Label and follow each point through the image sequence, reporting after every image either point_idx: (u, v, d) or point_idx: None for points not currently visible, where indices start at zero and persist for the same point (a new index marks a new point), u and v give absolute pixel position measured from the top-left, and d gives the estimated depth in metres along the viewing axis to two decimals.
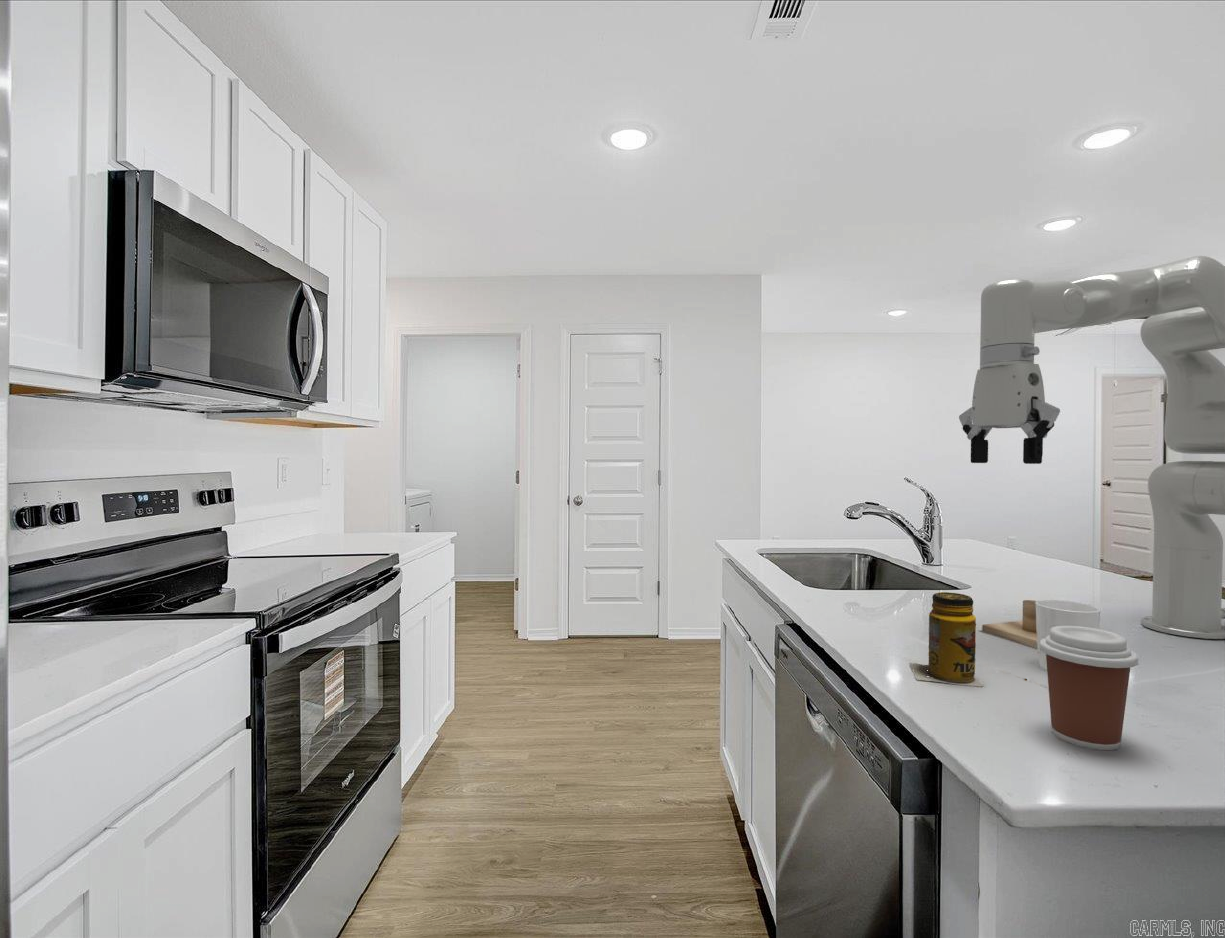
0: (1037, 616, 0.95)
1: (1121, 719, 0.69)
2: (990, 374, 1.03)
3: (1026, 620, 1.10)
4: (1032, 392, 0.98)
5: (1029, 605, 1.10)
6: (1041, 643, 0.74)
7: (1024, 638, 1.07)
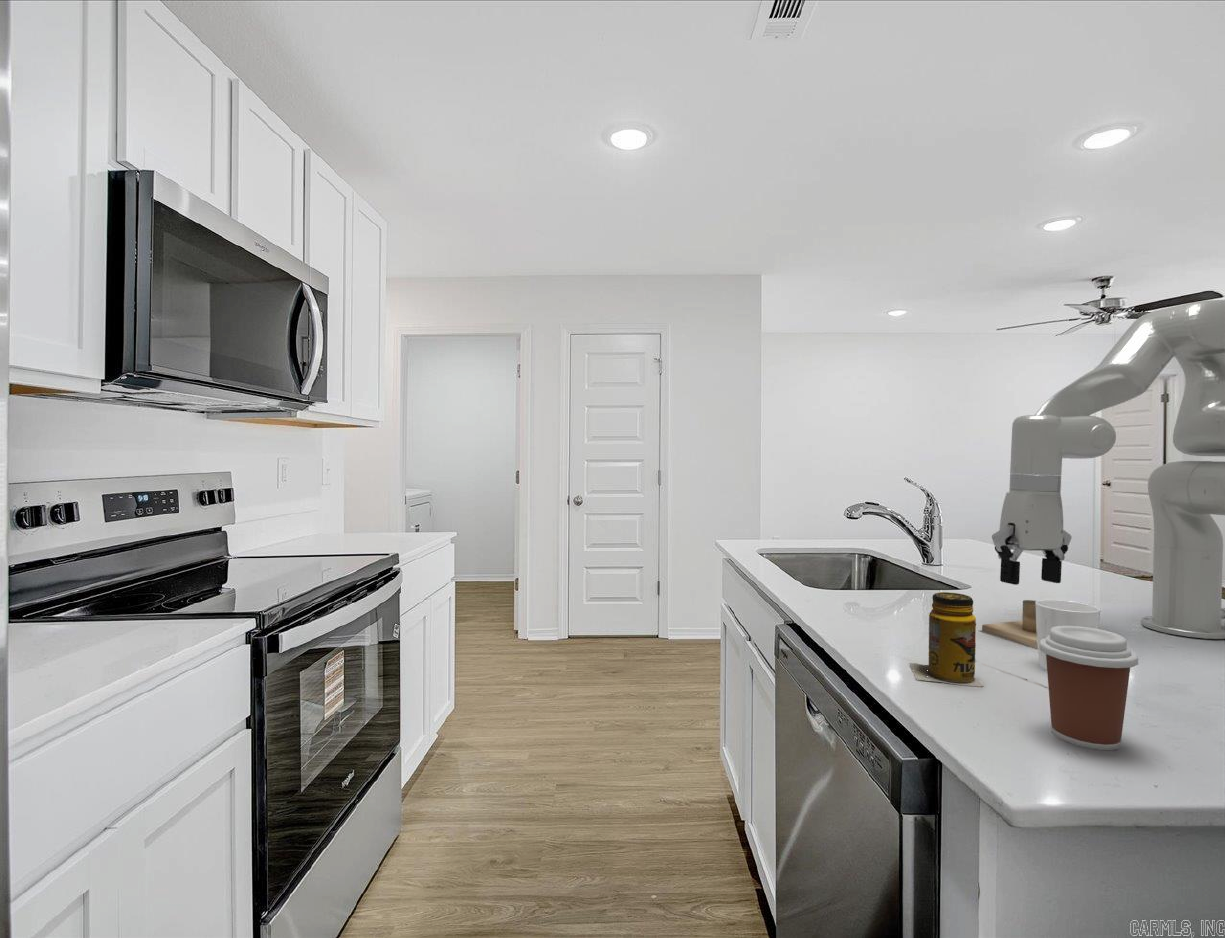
0: (1037, 616, 0.95)
1: (1121, 719, 0.69)
2: (1044, 500, 1.08)
3: (1026, 620, 1.10)
4: None
5: (1029, 605, 1.10)
6: (1041, 643, 0.74)
7: (1024, 638, 1.07)
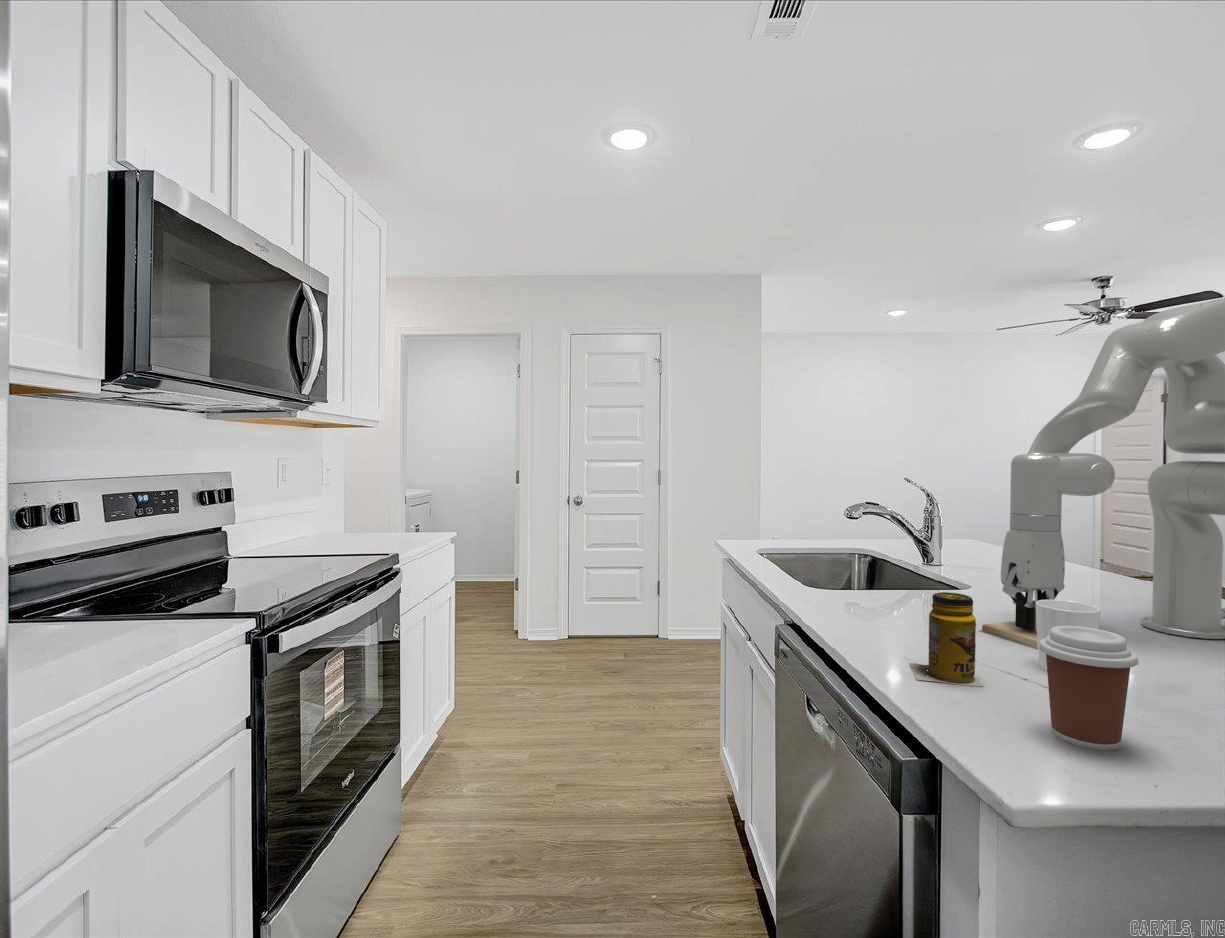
0: (1037, 616, 0.95)
1: (1121, 719, 0.69)
2: (1045, 540, 1.08)
3: None
4: None
5: None
6: (1041, 643, 0.74)
7: (1024, 638, 1.07)
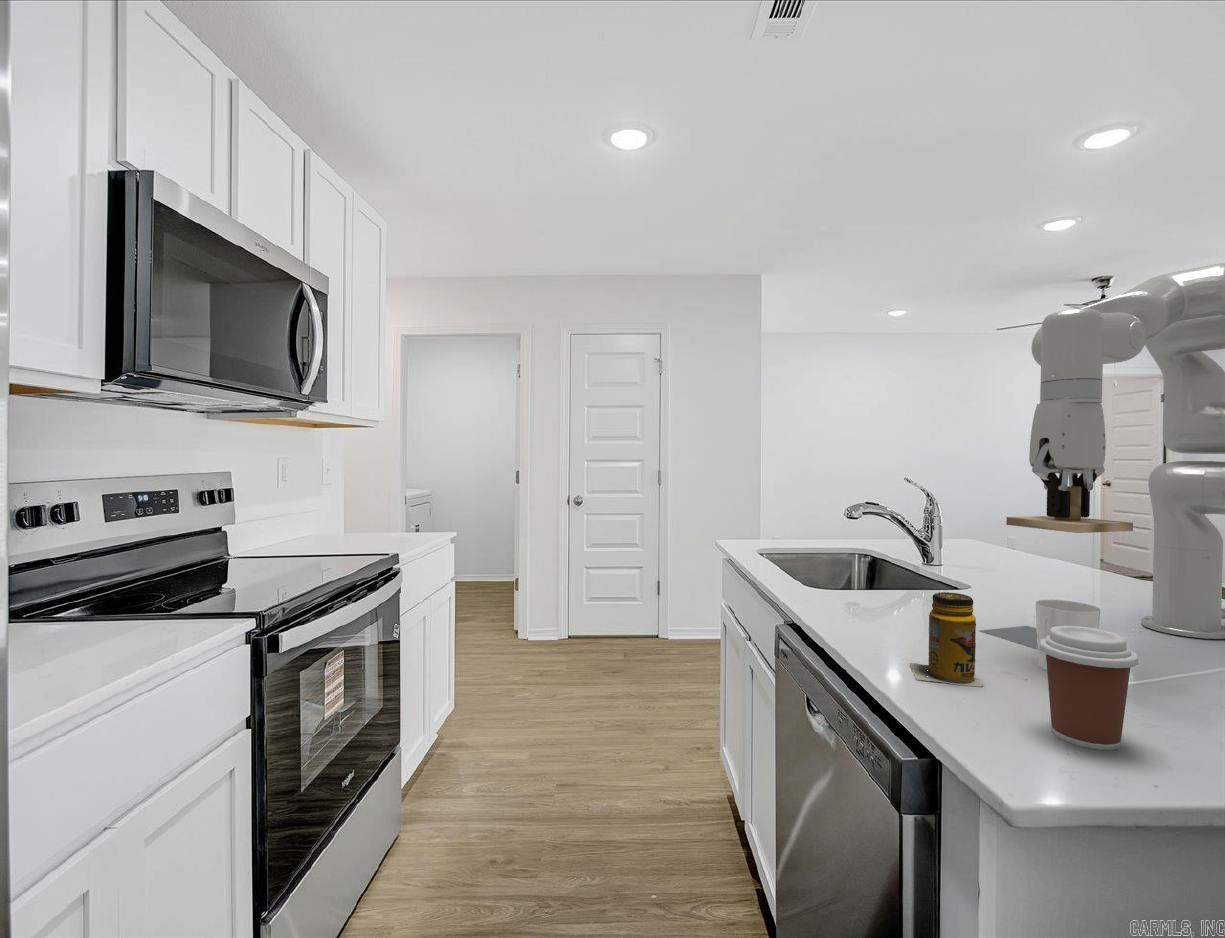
0: (1037, 616, 0.95)
1: (1121, 719, 0.69)
2: (1083, 410, 0.91)
3: None
4: None
5: None
6: (1041, 643, 0.74)
7: (1058, 523, 0.90)
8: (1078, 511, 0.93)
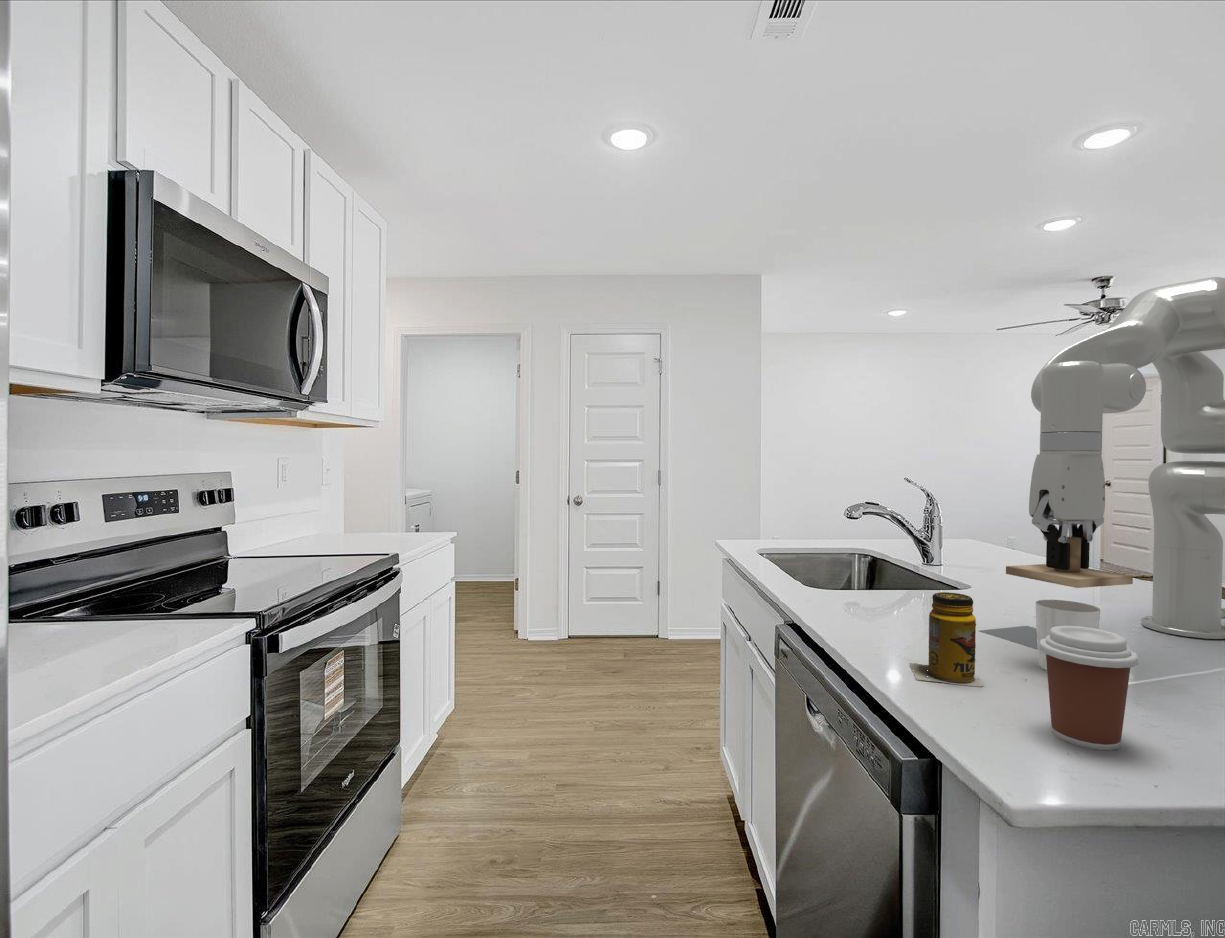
0: (1037, 616, 0.95)
1: (1121, 719, 0.69)
2: (1083, 462, 0.91)
3: None
4: None
5: None
6: (1041, 643, 0.74)
7: (1058, 577, 0.90)
8: (1078, 563, 0.92)
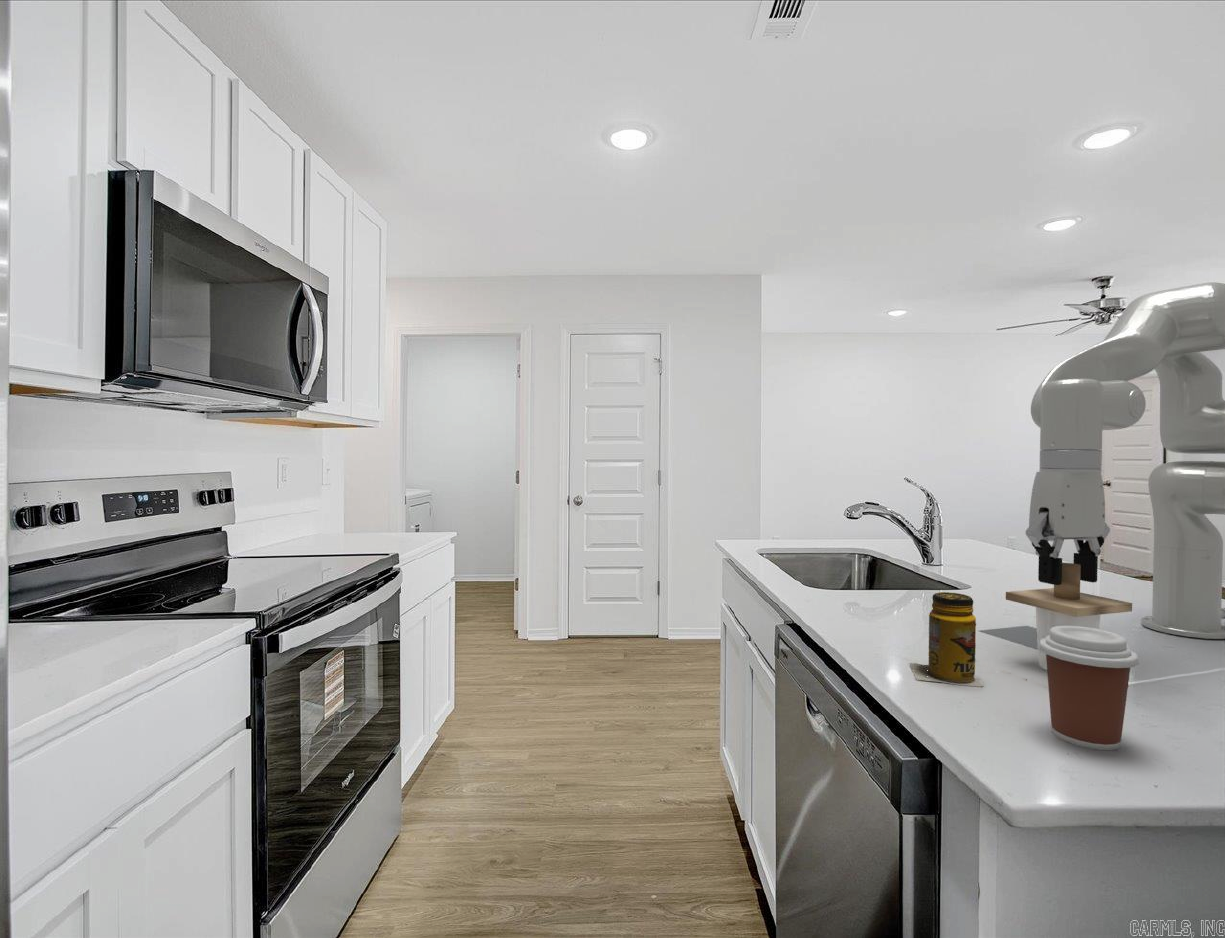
0: (1037, 616, 0.95)
1: (1121, 719, 0.69)
2: (1083, 480, 0.91)
3: (1058, 585, 0.94)
4: None
5: (1062, 567, 0.93)
6: (1041, 643, 0.74)
7: (1058, 605, 0.90)
8: (1077, 590, 0.93)
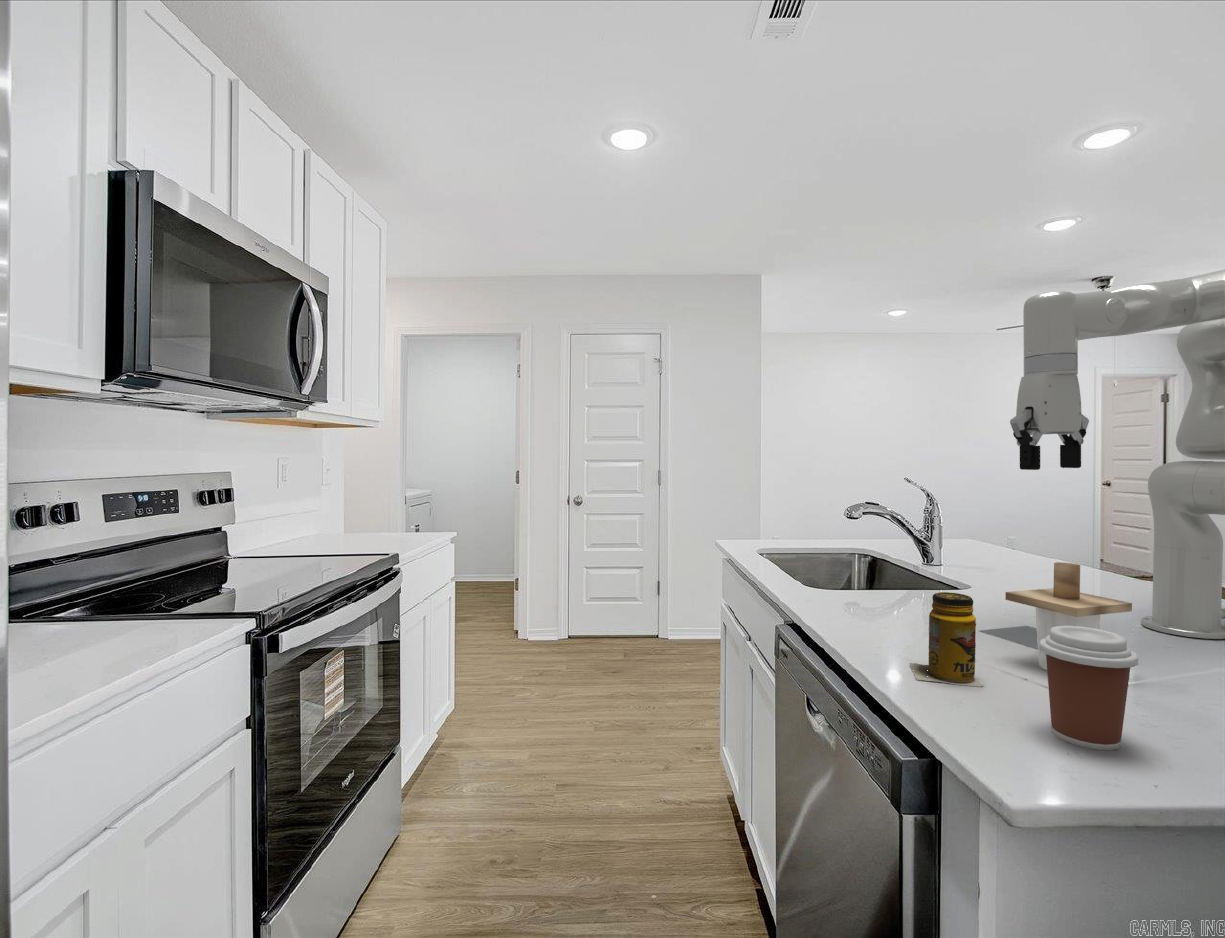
0: (1037, 616, 0.95)
1: (1121, 719, 0.69)
2: (1062, 380, 1.04)
3: (1058, 586, 0.94)
4: None
5: (1062, 567, 0.93)
6: (1041, 643, 0.74)
7: (1057, 605, 0.90)
8: (1077, 590, 0.93)
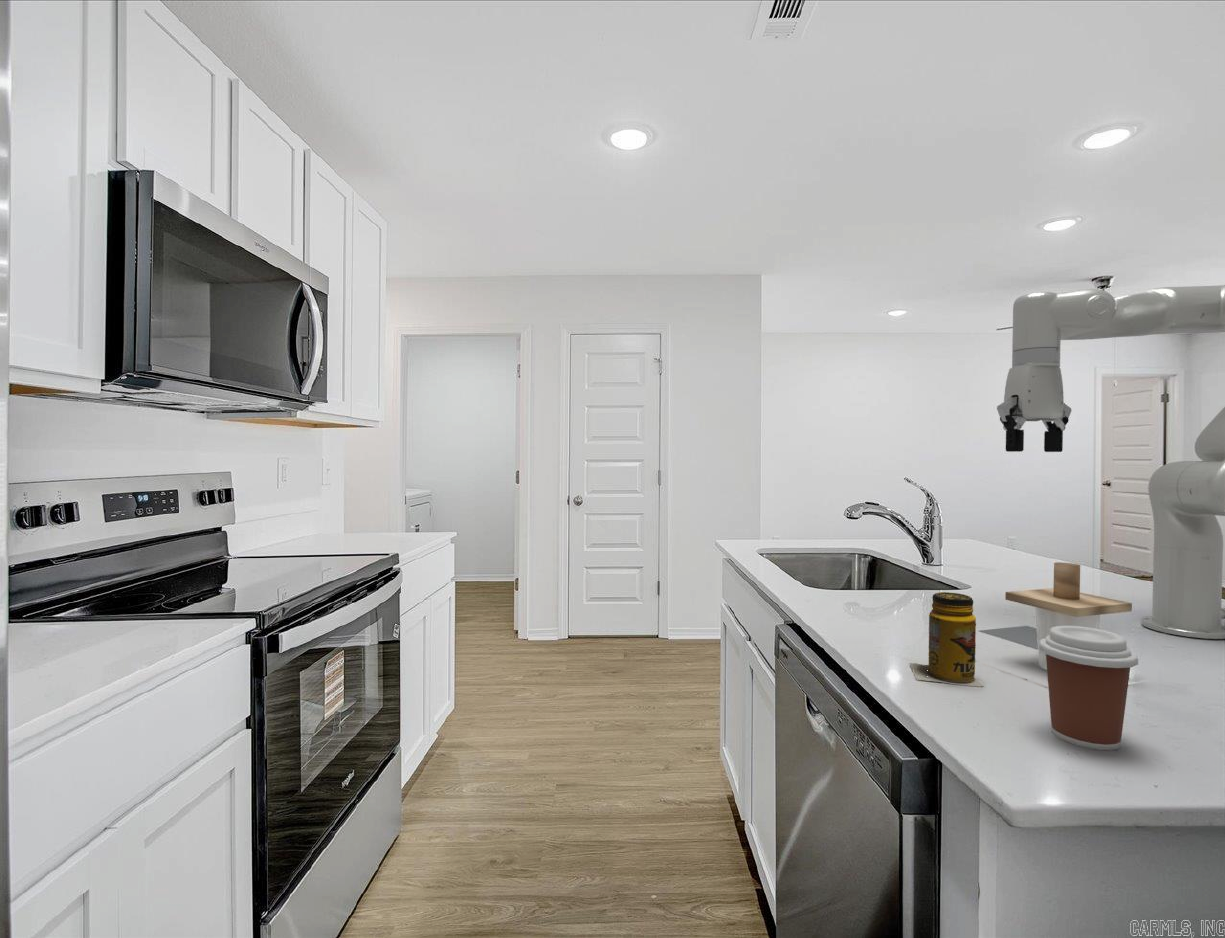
0: (1037, 616, 0.95)
1: (1121, 719, 0.69)
2: (1045, 372, 1.15)
3: (1058, 586, 0.94)
4: None
5: (1061, 567, 0.93)
6: (1041, 643, 0.74)
7: (1057, 605, 0.90)
8: (1077, 590, 0.93)
